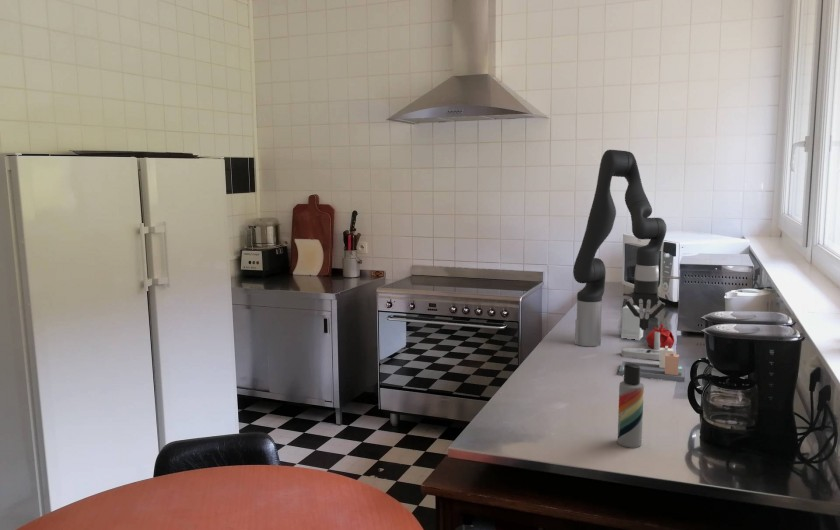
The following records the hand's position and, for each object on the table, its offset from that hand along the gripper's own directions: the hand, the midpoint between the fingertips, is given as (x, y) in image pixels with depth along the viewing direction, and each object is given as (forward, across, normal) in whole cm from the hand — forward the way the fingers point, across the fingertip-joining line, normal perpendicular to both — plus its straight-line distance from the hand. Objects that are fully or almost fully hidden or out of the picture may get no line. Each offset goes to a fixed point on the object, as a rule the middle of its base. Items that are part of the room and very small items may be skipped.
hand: (643, 329), depth 223 cm
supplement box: (+15, +7, -43) cm, 46 cm away
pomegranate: (+14, -4, -30) cm, 34 cm away
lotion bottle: (+13, -2, +66) cm, 67 cm away
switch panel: (+14, -4, +4) cm, 15 cm away
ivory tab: (+12, -8, 0) cm, 14 cm away
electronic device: (+14, +1, -16) cm, 21 cm away
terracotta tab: (+12, -10, +7) cm, 17 cm away
